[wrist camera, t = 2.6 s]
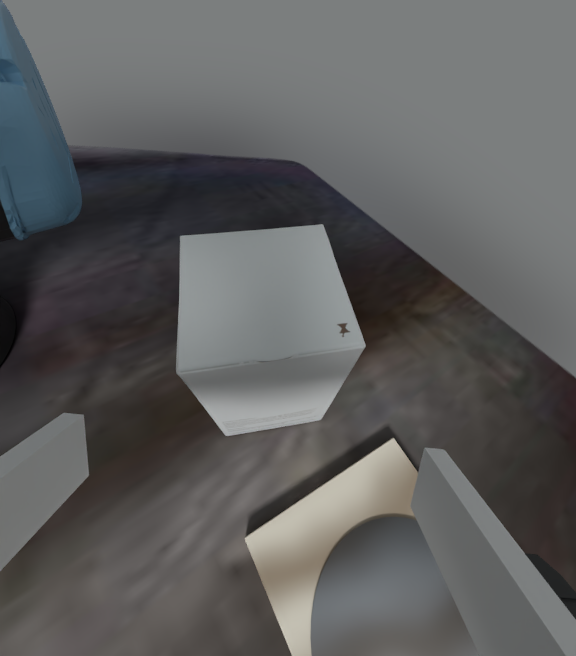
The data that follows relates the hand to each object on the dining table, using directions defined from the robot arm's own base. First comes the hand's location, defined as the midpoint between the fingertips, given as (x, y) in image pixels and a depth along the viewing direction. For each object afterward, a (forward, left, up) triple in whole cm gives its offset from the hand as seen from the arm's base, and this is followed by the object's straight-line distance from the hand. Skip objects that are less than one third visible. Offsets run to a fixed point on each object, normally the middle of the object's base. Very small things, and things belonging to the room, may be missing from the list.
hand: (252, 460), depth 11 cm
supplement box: (-7, +4, -15) cm, 17 cm away
